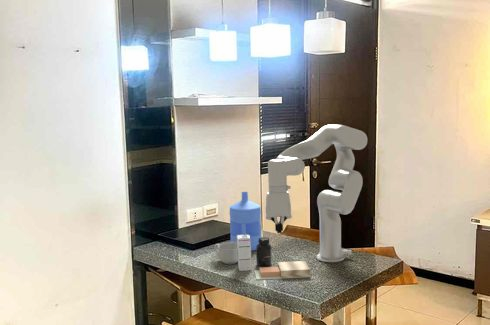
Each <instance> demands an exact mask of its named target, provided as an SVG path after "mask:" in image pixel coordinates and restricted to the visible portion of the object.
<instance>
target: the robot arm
mask: <svg viewBox="0 0 490 325" xmlns="http://www.w3.org/2000/svg"><path fill="white" fill-rule="evenodd" d="M333 145H334V148H335V151H336V159H335V161H334V164H333V168H332V170H331V173H329V174H330V175H329V176H328V177H329V178H328V185H329V187H331V188H332V189H324V190H322V191H321V192H319V194H318V196H317V197H316V198H317V199H316V204H317V208H318V213H319V253H318V254H317V255H316V259H317V260H318V261H319V262H320V261H321V262H323V263H340V262H343V261H344V260H345V256H346V255H352V249H346V248H345V249H343V248H342V220H341V217H340V214H341V215H348V214H351V213H352V211H353V210H354V209H355V205H357V204H356V203H357V201H358V198H359V196H360V193H361V191H362V187H363V184H364V182H363V181H364V180H363V176H362V174H361V172H360V171H357V170H354V167H355V162H356V161H355V160H356V159H355V155H354V153H353V150H355V151H357V150H358V151H360V150H363V149H364V148H366V146H367V145H368V136H367V134H366V133H365V132H364V131H363V130H359V129H357V128H353V127H350V126H347V125H343V124H327V125H324V126H322V127H321V128H320V129H319V130H318V131H316V132H315V133H314V134H313V135H311V136H310V137H309V138H307V139H306V140H304V141H301V142H299V143H297V144H294V145H293V146H290V147H288V148H286V149H285V150H284V151H282V152H281V153H280V154H279V155H278V156H276V158H273V159H270V160H268V163H267V174H268V176H267V177H268V191H267V192H266V198H265V214H266V215H265V219H266V220H268V221H272V222H273V223H274V226H275V227H274V228H275V232H276V233H277V234H282V233H283V231H284V223H285V221H286V220H289V219H292V218H293V217H292V206H291V197H290V193H289V191H288V190H291V185H288V184H287V180H288V178H287V177H288V176H289V177H290V176H292V177H293V176H299V175H301V174H303V172H304V170H305V169H306V165H305V162H304V161H303V160H309V159H313V158H317V157H319V156H320V155H321V154H322V153H323V152H325V151H326V150H327V149H328V148H330V146H333ZM333 189H334V190H333ZM339 190H340V191H339ZM278 218H279V220H278Z"/></svg>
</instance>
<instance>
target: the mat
mask: <svg viewBox="0 0 490 325" xmlns="http://www.w3.org/2000/svg"><path fill="white" fill-rule="evenodd" d="M253 271H254V272H253V273H254V276H255V279H256V281H259V280H260V281H261V280H262V281H263V280H279V279H281V280H282V279H283V278H281V276H272V277H261V275H260V269H255V270H254V269H253ZM297 278H299V279H300V278H302V279H303V277H288V278H287V279H297ZM307 278H311V275H310V276H308V277H307Z"/></svg>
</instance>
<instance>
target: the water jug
mask: <svg viewBox="0 0 490 325" xmlns="http://www.w3.org/2000/svg"><path fill="white" fill-rule="evenodd" d="M248 193H249V192H248V191H241V200H240V201H238V202H236V203H234V204H232V205H230V206H229V224H230V226H229V231H230V242H237V235H249V236H250V242H251V252H254V251H256V246H257V245H258V244H259V243H258V241H259V238H261V237H262V219H261V218H262V216H261V215H262V209H261V205H260V204H257V203H255V202H253V201H252V200H249V195H248Z"/></svg>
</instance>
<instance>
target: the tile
mask: <svg viewBox="0 0 490 325" xmlns="http://www.w3.org/2000/svg"><path fill="white" fill-rule="evenodd" d="M259 270H260V275H261V277H272V276H280V270H279V267H278V266H268V267H261V266H260V267H259Z"/></svg>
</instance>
